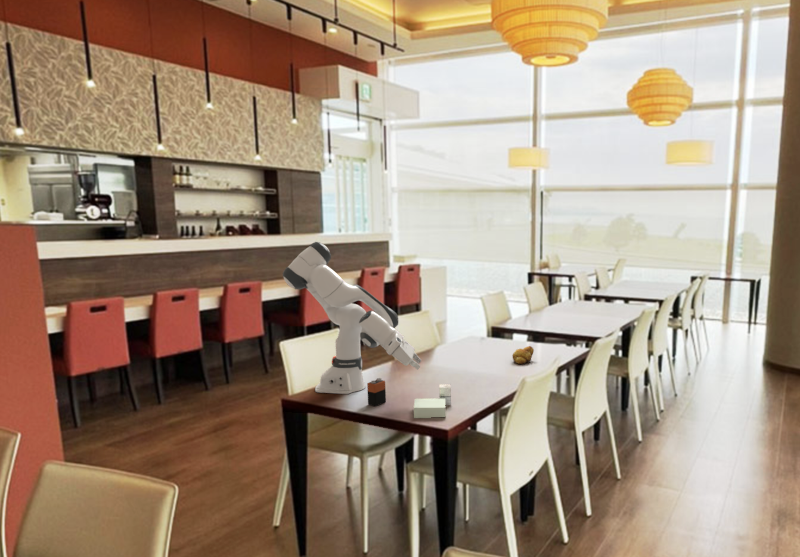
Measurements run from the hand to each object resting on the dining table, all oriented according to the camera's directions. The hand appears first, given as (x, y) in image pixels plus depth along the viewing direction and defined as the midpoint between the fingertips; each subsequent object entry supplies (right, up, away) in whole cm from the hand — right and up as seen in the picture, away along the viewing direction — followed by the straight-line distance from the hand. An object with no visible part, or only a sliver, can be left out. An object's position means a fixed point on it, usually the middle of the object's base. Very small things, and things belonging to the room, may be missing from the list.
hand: (419, 364), depth 222 cm
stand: (+4, -17, -9) cm, 20 cm away
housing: (+10, -16, +2) cm, 19 cm away
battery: (-17, -17, +5) cm, 25 cm away
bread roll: (+55, -9, +65) cm, 86 cm away
